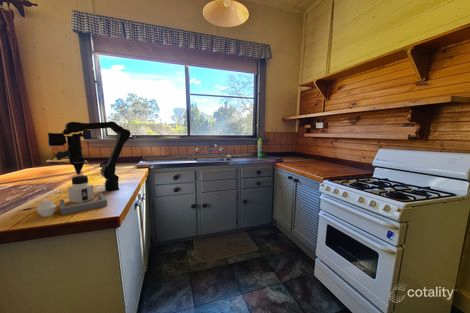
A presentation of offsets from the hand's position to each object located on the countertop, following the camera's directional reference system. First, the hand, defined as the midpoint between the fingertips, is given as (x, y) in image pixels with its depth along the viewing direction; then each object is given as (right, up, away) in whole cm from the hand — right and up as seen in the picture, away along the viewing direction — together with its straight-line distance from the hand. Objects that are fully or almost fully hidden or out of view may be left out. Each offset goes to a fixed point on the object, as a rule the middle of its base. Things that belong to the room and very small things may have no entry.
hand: (77, 173), depth 108 cm
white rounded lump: (+6, -16, -24) cm, 30 cm away
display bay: (+13, -15, -12) cm, 23 cm away
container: (+6, -14, -5) cm, 16 cm away
